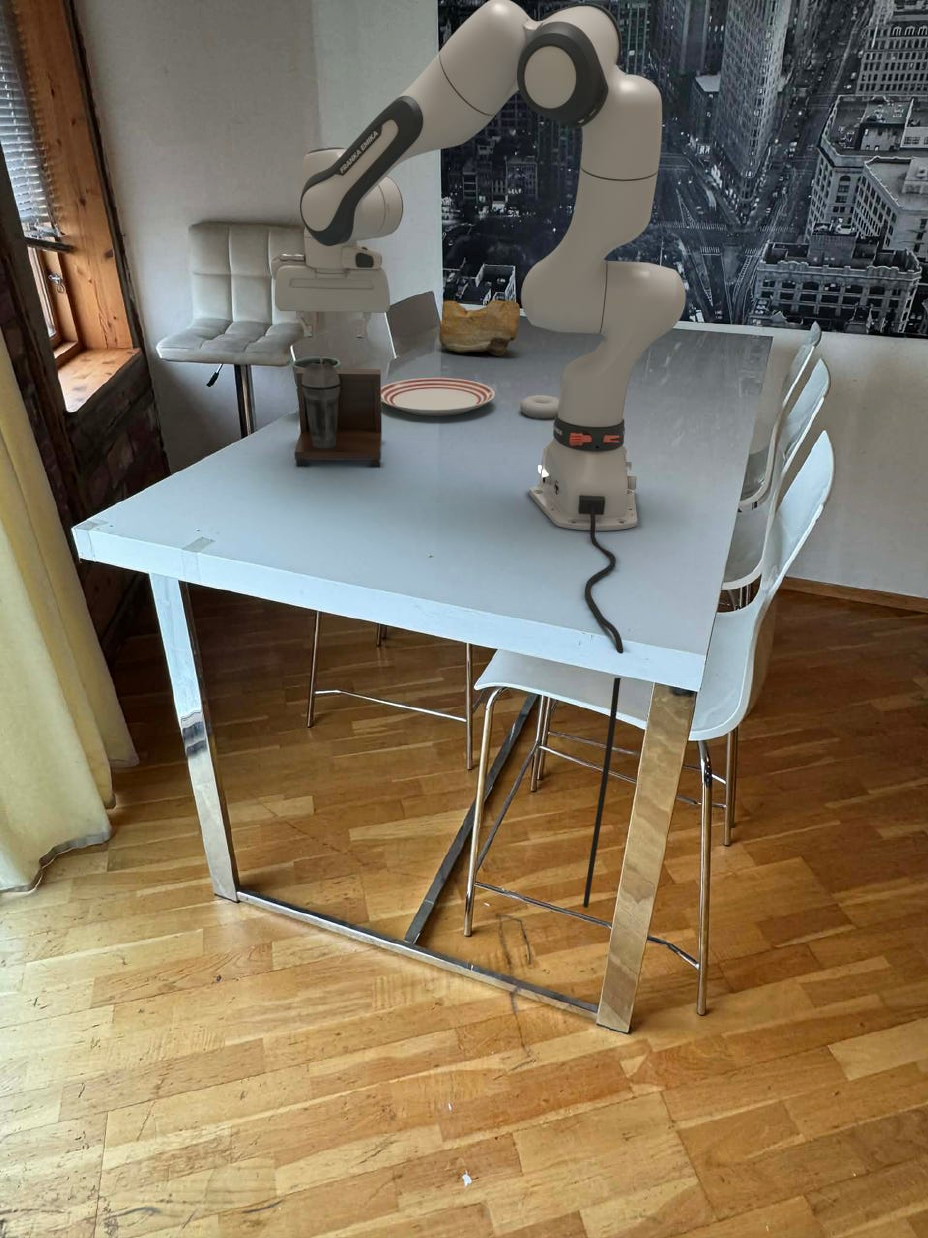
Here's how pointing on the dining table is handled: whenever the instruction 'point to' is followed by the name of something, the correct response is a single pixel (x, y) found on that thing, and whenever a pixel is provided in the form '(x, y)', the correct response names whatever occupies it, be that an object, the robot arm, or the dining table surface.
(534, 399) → the donut
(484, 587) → the dining table surface
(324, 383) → the beverage cup
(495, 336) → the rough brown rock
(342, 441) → the shelf
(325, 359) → the drinking glass
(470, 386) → the dinner plate
